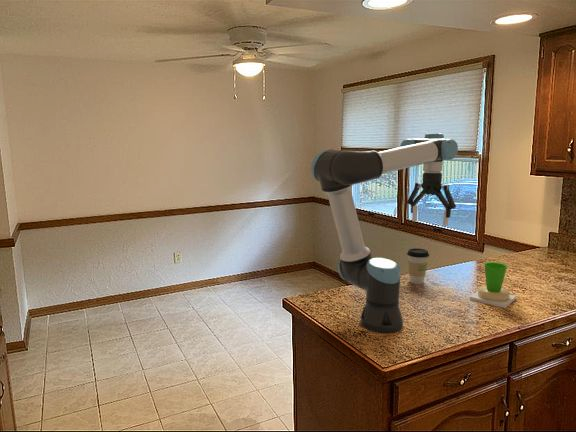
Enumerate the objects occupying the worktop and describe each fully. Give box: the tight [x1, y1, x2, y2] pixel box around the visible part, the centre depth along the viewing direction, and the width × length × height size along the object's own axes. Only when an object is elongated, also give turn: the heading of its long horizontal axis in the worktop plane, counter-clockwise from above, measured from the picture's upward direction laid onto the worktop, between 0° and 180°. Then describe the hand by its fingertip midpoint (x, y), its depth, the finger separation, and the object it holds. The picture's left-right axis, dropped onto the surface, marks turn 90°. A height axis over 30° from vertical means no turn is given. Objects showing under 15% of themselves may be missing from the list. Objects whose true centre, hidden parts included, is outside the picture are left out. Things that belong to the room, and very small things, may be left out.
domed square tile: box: [469, 285, 517, 309], centre depth 185 cm, size 14×14×4 cm
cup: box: [483, 261, 509, 293], centre depth 184 cm, size 9×9×11 cm
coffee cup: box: [406, 248, 430, 285], centre depth 207 cm, size 10×10×15 cm
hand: (429, 223), depth 185 cm, fingers open, 13 cm apart
